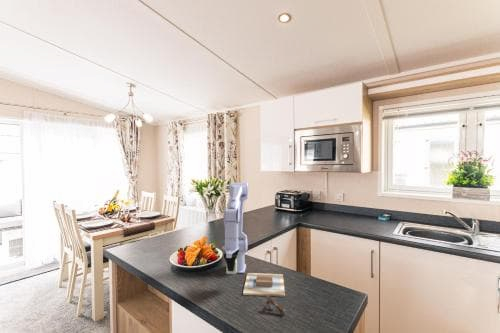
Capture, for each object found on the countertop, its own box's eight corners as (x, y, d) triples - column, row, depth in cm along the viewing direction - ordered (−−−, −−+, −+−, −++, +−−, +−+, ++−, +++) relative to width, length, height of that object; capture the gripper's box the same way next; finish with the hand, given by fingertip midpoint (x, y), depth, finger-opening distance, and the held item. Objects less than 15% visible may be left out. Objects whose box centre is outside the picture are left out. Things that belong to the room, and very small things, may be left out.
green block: (227, 269, 105) (227, 258, 105) (236, 269, 105) (237, 258, 105) (226, 273, 101) (226, 261, 101) (235, 274, 101) (235, 262, 101)
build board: (247, 274, 116) (247, 268, 116) (282, 276, 114) (282, 269, 114) (243, 294, 98) (243, 287, 98) (285, 296, 96) (285, 289, 96)
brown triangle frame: (264, 302, 91) (268, 293, 90) (281, 319, 86) (286, 309, 85) (262, 305, 89) (266, 295, 88) (279, 321, 85) (283, 312, 84)
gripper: (225, 231, 111) (225, 261, 111) (218, 242, 96) (218, 275, 96) (240, 232, 110) (240, 261, 110) (236, 242, 96) (236, 276, 96)
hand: (231, 268), depth 103 cm, fingers closed on green block, 4 cm apart
